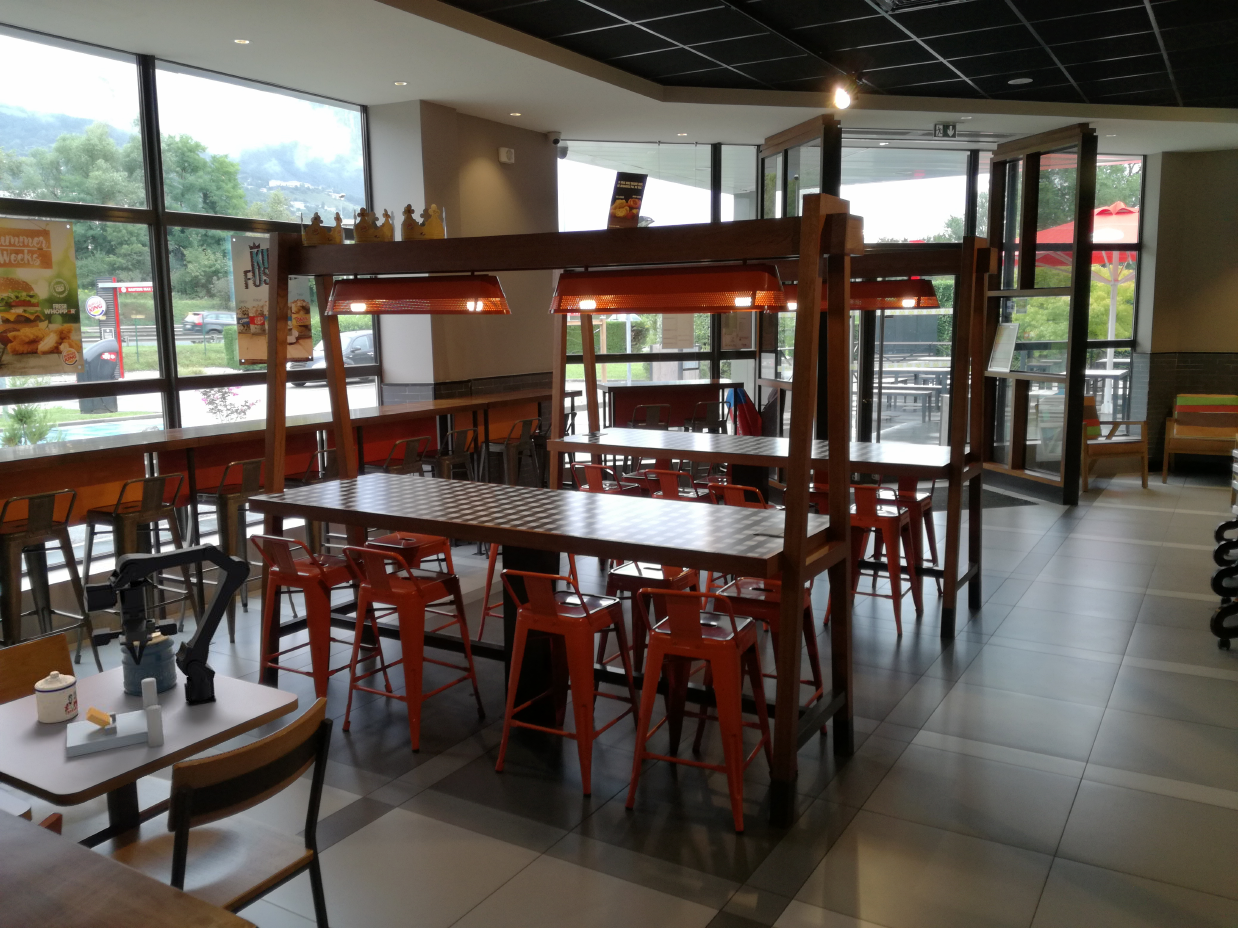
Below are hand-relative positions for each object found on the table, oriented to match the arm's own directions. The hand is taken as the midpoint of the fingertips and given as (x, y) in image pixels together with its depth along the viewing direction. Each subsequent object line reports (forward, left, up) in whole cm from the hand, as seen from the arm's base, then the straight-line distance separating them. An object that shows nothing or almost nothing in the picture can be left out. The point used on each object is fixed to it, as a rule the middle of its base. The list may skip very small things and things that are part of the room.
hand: (137, 664), depth 229 cm
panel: (+7, +11, -13) cm, 18 cm away
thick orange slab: (+7, +11, -10) cm, 16 cm away
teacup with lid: (+18, -10, -13) cm, 24 cm away
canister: (-3, -18, -13) cm, 23 cm away
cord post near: (-2, +21, -13) cm, 24 cm away
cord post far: (-2, +2, -13) cm, 13 cm away
